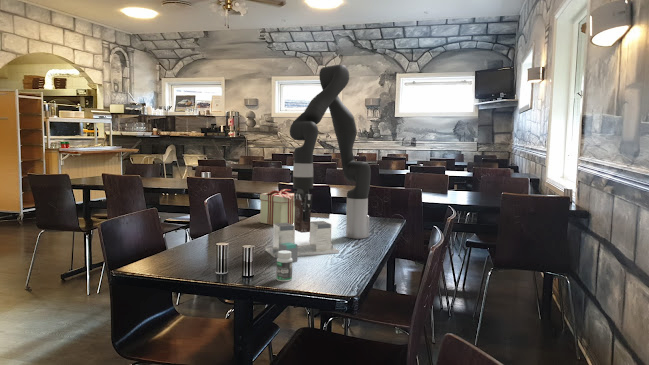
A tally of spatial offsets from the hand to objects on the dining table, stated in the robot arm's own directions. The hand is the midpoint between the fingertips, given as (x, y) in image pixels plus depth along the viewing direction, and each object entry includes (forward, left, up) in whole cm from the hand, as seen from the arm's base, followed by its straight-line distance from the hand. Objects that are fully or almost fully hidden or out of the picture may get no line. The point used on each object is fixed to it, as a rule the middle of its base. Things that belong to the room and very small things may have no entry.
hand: (302, 220), depth 179 cm
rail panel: (0, 0, -12) cm, 12 cm away
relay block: (+9, +12, -12) cm, 20 cm away
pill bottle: (+17, +33, -12) cm, 39 cm away
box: (0, 0, -4) cm, 4 cm away
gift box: (-13, -64, -12) cm, 66 cm away
